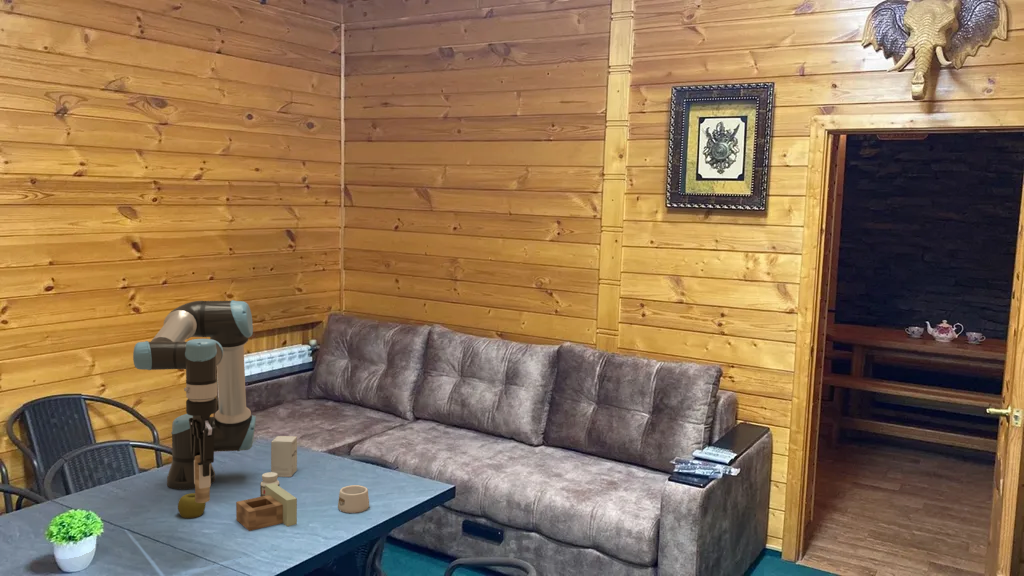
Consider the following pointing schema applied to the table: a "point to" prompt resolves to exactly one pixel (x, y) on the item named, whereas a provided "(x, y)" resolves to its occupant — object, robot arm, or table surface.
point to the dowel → (200, 494)
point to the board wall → (284, 503)
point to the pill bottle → (268, 481)
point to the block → (259, 512)
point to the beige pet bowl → (353, 499)
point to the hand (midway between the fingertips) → (202, 484)
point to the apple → (190, 506)
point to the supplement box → (284, 455)
